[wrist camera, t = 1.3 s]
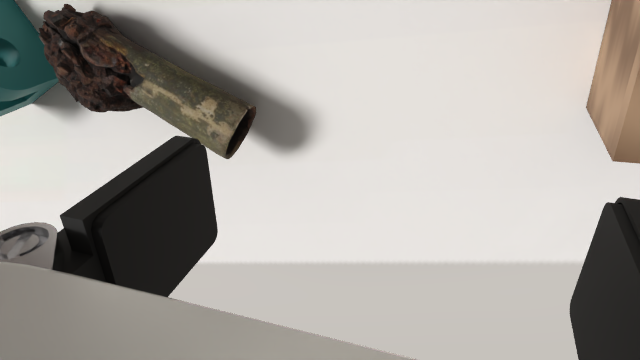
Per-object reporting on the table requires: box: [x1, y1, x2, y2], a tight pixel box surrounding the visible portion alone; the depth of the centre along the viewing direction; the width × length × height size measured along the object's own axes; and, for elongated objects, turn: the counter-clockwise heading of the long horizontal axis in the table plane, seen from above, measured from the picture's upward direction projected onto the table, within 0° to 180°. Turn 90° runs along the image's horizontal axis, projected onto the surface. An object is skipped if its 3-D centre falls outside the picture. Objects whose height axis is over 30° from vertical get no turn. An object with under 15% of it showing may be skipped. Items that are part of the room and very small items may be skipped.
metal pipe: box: [39, 4, 256, 159], centre depth 37 cm, size 18×7×6 cm, turn 65°
